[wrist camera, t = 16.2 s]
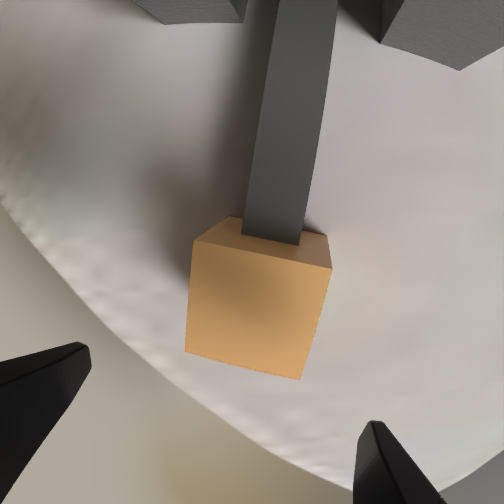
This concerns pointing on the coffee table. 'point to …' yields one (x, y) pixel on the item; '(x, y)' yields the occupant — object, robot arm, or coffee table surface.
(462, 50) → the grey piece
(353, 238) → the coffee table surface
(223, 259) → the plug
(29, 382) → the robot arm
